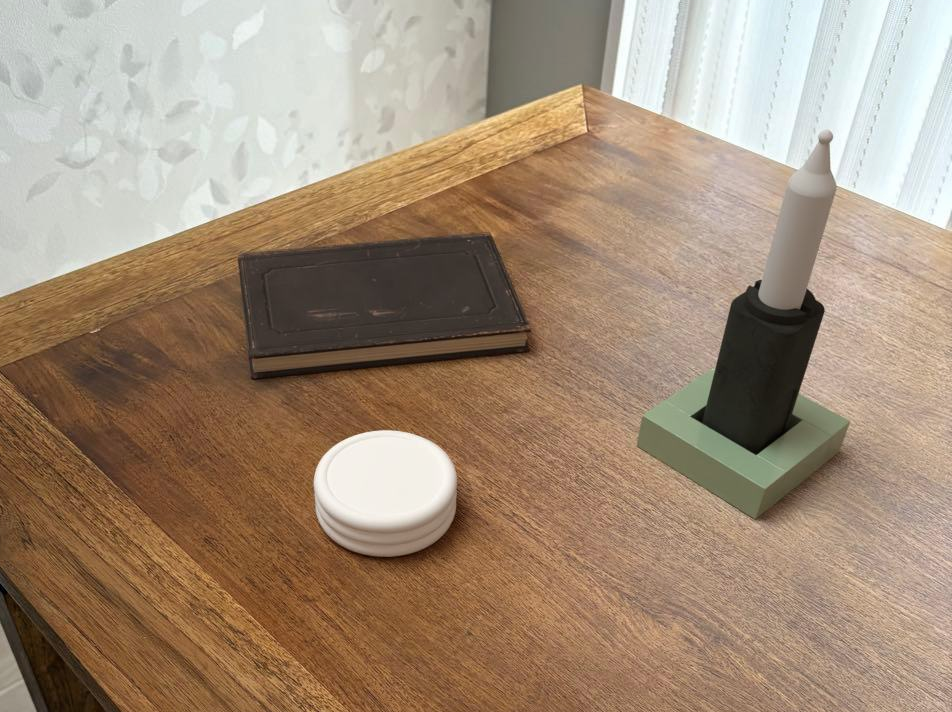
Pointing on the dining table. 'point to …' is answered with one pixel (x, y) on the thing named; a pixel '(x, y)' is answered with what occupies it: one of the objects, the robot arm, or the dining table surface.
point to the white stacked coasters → (385, 493)
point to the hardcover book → (378, 304)
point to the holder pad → (739, 448)
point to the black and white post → (775, 318)
